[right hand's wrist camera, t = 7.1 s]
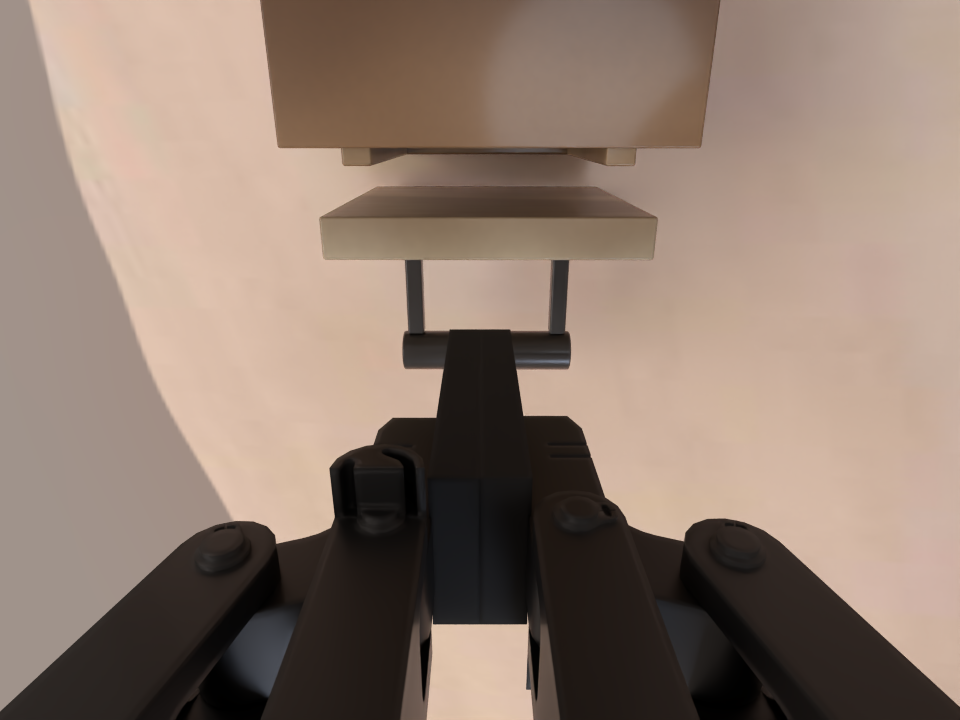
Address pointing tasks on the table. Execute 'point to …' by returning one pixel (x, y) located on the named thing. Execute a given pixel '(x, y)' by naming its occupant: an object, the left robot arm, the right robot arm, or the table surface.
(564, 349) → the drawer
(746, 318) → the table surface
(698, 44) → the cabinet
